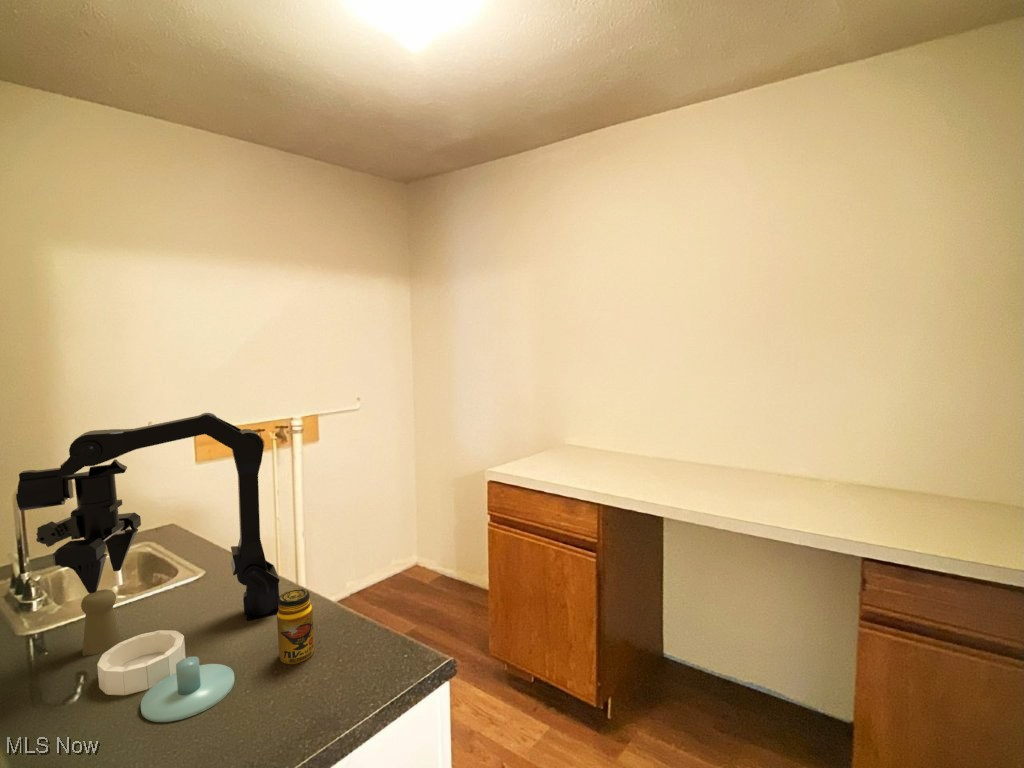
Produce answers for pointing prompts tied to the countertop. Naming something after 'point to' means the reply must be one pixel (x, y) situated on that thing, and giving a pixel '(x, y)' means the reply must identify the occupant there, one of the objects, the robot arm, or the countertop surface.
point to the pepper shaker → (100, 622)
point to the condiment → (295, 626)
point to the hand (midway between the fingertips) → (105, 581)
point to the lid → (187, 691)
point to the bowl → (140, 662)
